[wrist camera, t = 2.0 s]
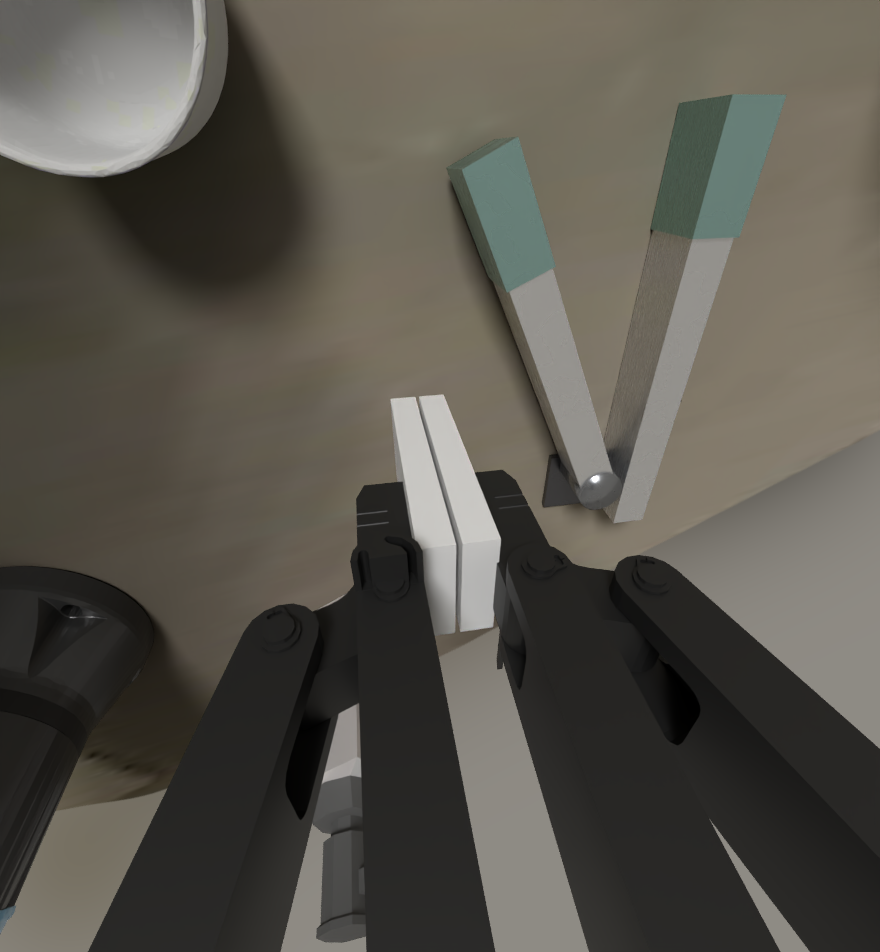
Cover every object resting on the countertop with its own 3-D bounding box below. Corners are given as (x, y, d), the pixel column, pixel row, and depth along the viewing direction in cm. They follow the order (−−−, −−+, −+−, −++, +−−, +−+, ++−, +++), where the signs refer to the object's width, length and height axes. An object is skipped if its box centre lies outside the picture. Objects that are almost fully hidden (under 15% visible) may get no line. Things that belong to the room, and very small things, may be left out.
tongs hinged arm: (565, 484, 38) (586, 516, 34) (442, 169, 24) (458, 172, 20) (601, 467, 37) (625, 497, 34) (498, 137, 23) (522, 134, 20)
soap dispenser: (413, 612, 45) (456, 908, 27) (341, 649, 47) (337, 954, 29) (375, 577, 41) (396, 894, 24) (298, 619, 43) (264, 947, 25)
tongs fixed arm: (541, 503, 39) (560, 536, 36) (603, 102, 24) (645, 94, 20) (622, 494, 40) (647, 525, 37) (732, 103, 25) (792, 94, 21)
